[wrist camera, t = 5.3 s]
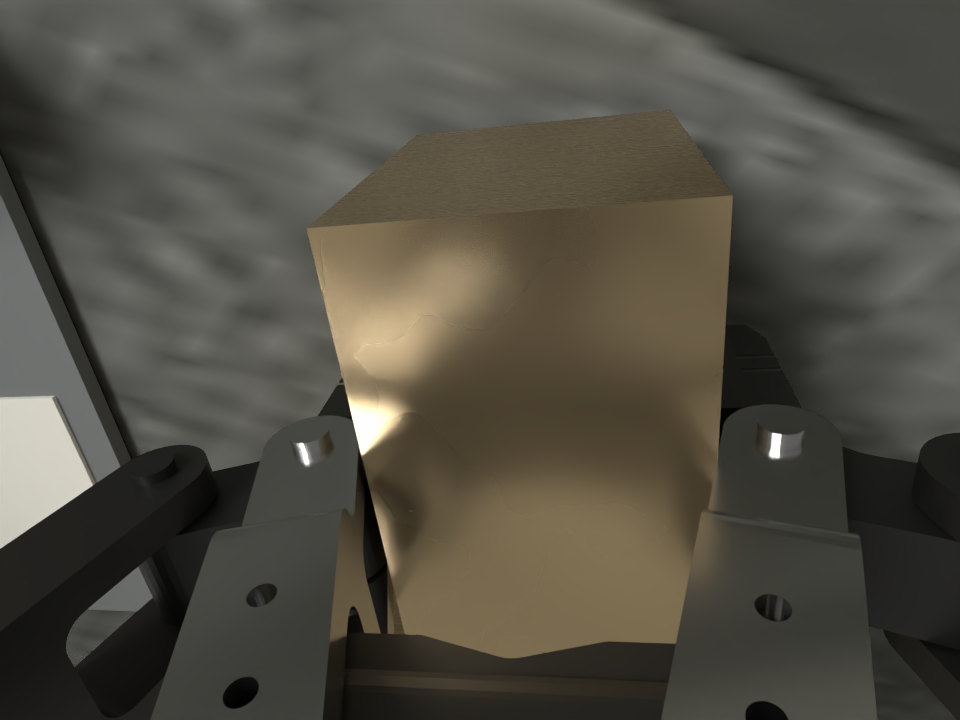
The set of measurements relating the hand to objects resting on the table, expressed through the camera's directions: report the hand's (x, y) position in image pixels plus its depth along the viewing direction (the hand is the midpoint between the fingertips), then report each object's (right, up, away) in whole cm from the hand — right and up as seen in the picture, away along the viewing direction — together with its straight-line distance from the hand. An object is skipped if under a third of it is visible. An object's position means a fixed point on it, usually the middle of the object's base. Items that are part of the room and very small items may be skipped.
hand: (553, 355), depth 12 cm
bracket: (-3, -2, +2) cm, 4 cm away
